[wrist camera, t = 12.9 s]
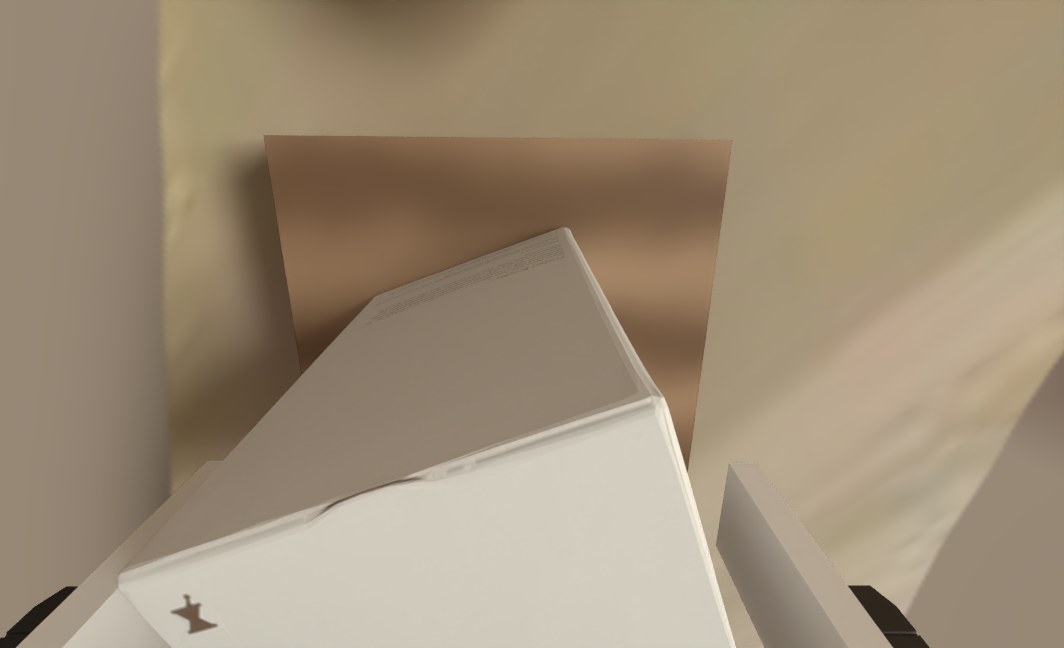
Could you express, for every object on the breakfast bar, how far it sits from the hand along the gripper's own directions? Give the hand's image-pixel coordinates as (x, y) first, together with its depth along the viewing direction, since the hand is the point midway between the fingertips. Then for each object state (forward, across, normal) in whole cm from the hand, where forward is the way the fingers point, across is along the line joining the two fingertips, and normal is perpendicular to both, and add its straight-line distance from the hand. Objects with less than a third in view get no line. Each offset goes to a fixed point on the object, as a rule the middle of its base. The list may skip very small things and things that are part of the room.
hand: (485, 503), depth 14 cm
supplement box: (+10, 0, -1) cm, 10 cm away
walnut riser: (+14, 0, 0) cm, 14 cm away
